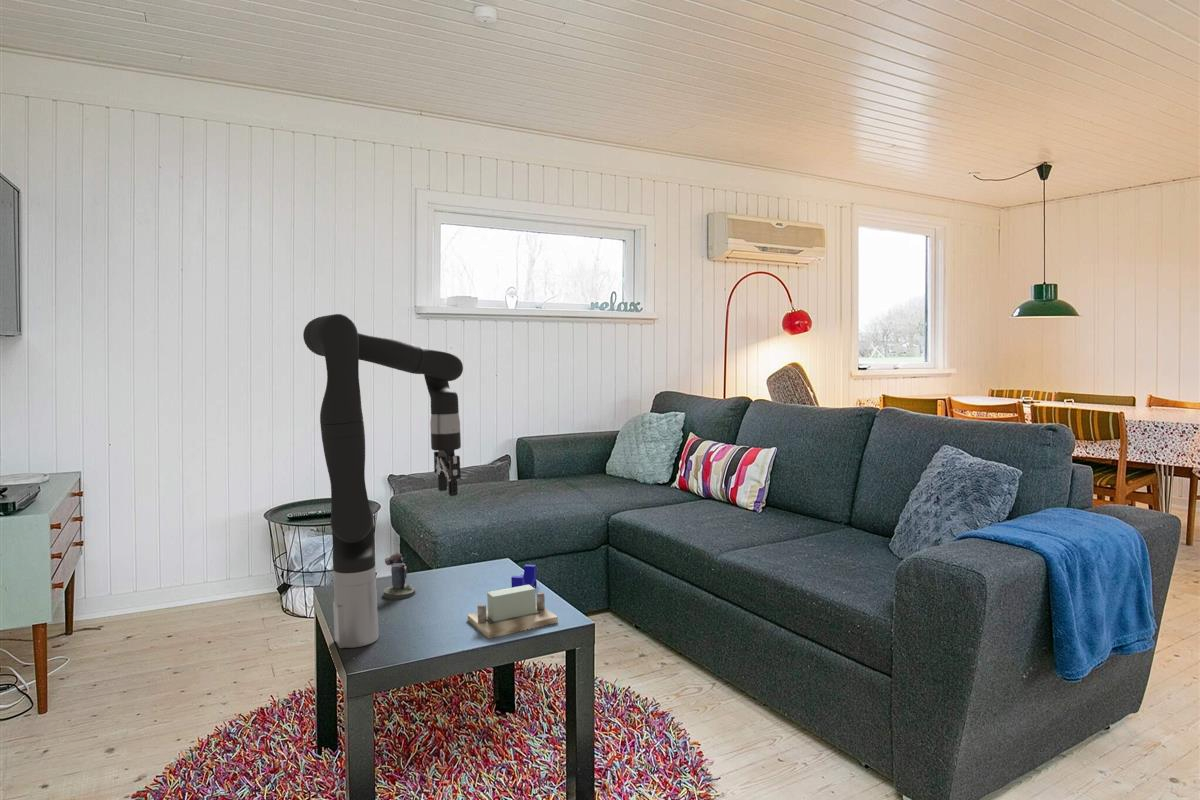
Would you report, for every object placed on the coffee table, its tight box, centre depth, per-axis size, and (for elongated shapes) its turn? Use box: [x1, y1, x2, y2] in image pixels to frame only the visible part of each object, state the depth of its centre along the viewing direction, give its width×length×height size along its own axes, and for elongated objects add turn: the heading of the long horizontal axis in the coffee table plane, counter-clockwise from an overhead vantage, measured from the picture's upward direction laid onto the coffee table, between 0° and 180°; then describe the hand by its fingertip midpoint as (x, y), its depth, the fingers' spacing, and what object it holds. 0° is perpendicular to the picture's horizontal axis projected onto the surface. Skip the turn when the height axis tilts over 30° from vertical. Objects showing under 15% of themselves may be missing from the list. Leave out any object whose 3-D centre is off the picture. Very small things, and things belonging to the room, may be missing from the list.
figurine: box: [383, 552, 416, 600], centre depth 200 cm, size 8×8×12 cm
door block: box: [486, 585, 537, 621], centre depth 177 cm, size 11×4×6 cm, turn 119°
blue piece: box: [510, 564, 538, 588], centre depth 200 cm, size 12×4×6 cm, turn 167°
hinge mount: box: [467, 592, 559, 639], centre depth 177 cm, size 18×14×6 cm
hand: (447, 493), depth 187 cm, fingers open, 8 cm apart
